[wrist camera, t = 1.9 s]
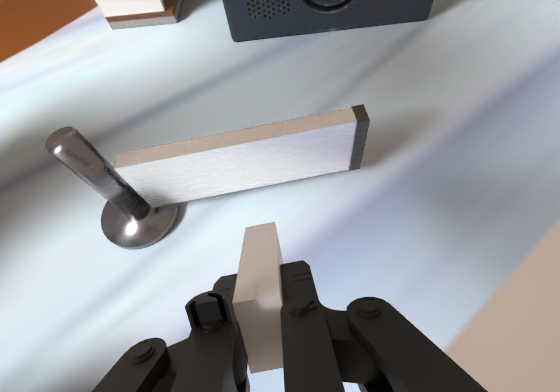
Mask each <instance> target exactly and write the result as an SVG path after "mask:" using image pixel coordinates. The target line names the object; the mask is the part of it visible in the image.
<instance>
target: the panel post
mask: <svg viewBox="0 0 560 392" xmlns="http://www.w3.org/2000/svg"><path fill="white" fill-rule="evenodd" d="M46 149H47V150H48V151H49V152H50V153H51V154H52V155H53V156H55V157H56V158H57V159H58V160H60V161H61V162H62V163H63V164H64V165H66V166H67V167H68V168H69V169H70V170H72V171H73V172H74V173H75V174H76V175H78V176H79V177H80V178H81V179H83V180H84V181H85V182H86V183H87V184H89V185H90V186H91V187H92V188H93V189H95V190H96V191H97V192H98V193H99V194H101V195H102V196H103V197H104V198H106V199H107V200H108V201H107V203H106V205H105V207H104V209H103V212H102V216H101V226H102V230H103V232H104V234H105V236H106V237H107V238H108V239H109V240H110V241H111V242H113V243H114V244H116V245H117V246H119V247H121V248H125V249H142V248H146V247H148V246H151V245H153V244H155V243H156V242H158V241H160V240H161V239H162V238H163V237H165V236H166V235H167V234H168V233H169V231H170V230H171V229H172V227H173V226H174V224H175V222H176V220H177V217H178V213H179V203H174V204H169V205H164V206H159V207H153V208H152V207H151V206H150V205H149V204H148V203H147V202H146V201H145V200H144V199H143V198H142V197H141V196H140V195H139V194H138V193H137V192H136V191H135V190H134V189H133V188H132V187H131V186H130V185H129V184H128V183H127V182H126V181H125V180H124V179H123V178H122V177H121V176H120V175H119V174H118V173H117V172H116V171H115V170H114V167H113V166H112V165H111V164H110V163H109V162H108V161H107V160H106V159H105V158H104V157H103V156H102V155H101V154H100V153H99V152H98V151H97V150H96V149H95V148H94V147H93V146H92V145H91V144H90V143H89V142H88V141H87V140H86V139H85V138H84V137H83V136H82V135H81V134H80V133H79V132H78V131H77V130H76V129H75V128H72V127H65V128H61V129H59V130H57V131H55V132H54V133H52V134H51V135H50V136H49V138H48V139H47V141H46Z"/></svg>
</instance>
